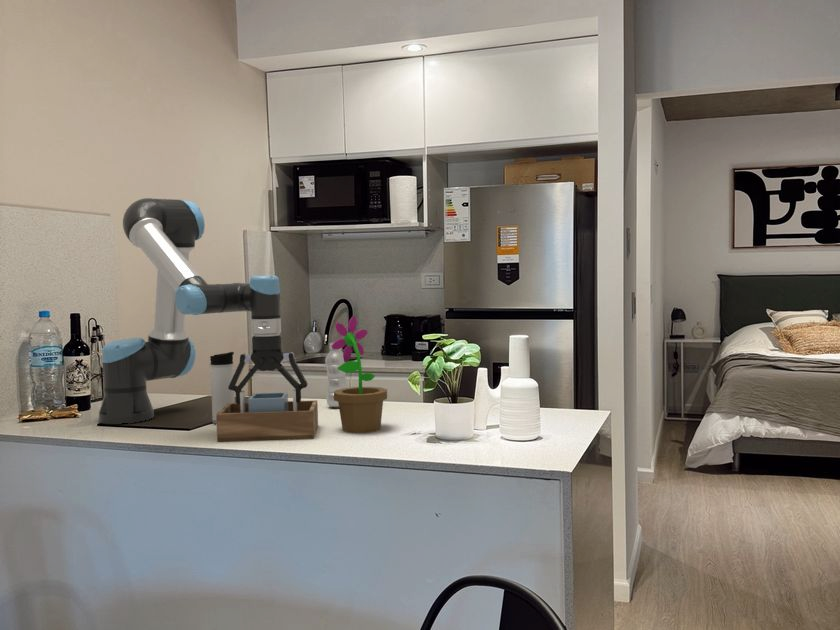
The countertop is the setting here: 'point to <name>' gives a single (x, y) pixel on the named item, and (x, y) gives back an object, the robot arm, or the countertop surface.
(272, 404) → the slate crate
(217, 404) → the travel mug
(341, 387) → the plastic bottle
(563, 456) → the countertop surface
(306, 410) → the walnut crate
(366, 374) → the flowerpot
